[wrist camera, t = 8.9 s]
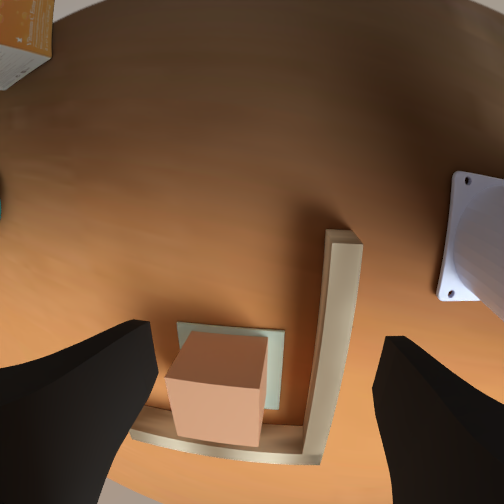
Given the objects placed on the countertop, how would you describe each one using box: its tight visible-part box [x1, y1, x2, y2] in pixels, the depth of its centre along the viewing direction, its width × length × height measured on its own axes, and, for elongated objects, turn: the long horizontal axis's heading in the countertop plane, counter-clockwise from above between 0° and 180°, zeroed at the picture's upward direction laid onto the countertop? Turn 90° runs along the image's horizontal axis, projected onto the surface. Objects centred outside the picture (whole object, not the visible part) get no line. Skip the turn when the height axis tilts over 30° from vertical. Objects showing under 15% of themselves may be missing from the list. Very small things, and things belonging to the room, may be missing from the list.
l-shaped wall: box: [129, 229, 363, 465], centre depth 19 cm, size 15×17×3 cm
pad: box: [177, 322, 285, 410], centre depth 20 cm, size 7×7×1 cm
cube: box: [164, 331, 268, 447], centre depth 18 cm, size 5×5×5 cm
